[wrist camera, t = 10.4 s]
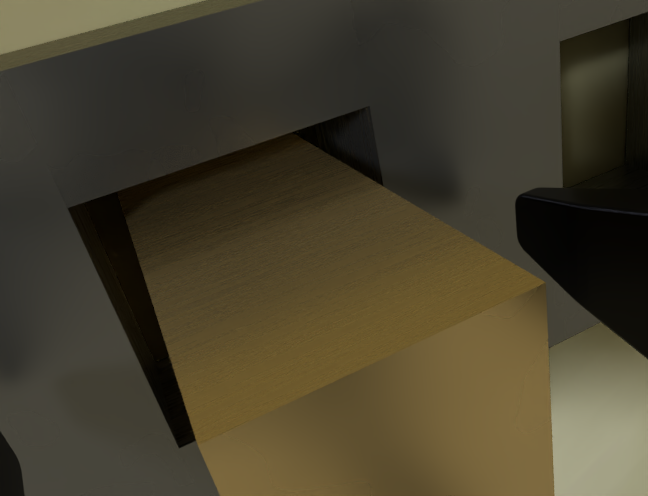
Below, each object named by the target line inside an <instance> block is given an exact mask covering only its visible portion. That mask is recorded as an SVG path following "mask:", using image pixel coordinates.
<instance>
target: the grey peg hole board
mask: <svg viewBox="0 0 648 496" xmlns="http://www.w3.org/2000/svg"><path fill="white" fill-rule="evenodd" d="M628 18H630V41H629V71H628V100H627V130H626V160H625V165H623V166H621V167H618V168H616V169H613V170H611V171H609V172H606V173H604V174H602V175H599V176H597V177H594V178H592V179H590V180H587V181H585V182H583V183H580V184H578V185H575V186H573V187H571V188H617V189H648V0H206V1H202V2H199V3H195V4H191V5H187V6H183V7H180V8H176V9H172V10H168V11H165V12H161V13H157V14H153V15H149V16H146V17H142V18H138V19H134V20H131V21H127V22H123V23H119V24H115V25H112V26H108V27H104V28H100V29H97V30H93V31H89V32H85V33H81V34H78V35H74V36H70V37H66V38H62V39H59V40H55V41H51V42H47V43H44V44H40V45H36V46H32V47H28V48H25V49H21V50H17V51H13V52H10V53H6V54H2V55H0V431H1V433H2V434H3V436H4V437H5V439H6V440H7V442H8V443H9V445H10V447H11V448H12V450H13V451H14V453H15V454H16V456H17V458H18V460H19V463H20V466H21V470H22V478H23V486H24V494H25V496H220V494H219V492H218V490H217V488H216V485H215V483H214V481H213V479H212V476H211V474H210V472H209V470H208V467H207V465H206V463H205V461H204V458H203V456H202V454H201V452H200V449H199V447H198V445H197V441H196V438H195V435H194V432H193V429H192V426H191V423H190V419H189V416H188V413H187V410H186V407H185V404H184V401H183V398H182V394H181V391H180V388H179V385H178V382H177V379H176V376H175V372H174V369H173V366H172V363H171V360H170V357H167V358H165V359H162V360H160V361H158V362H155V361H154V359H153V356H152V354H151V352H150V350H149V348H148V345H147V343H146V341H145V339H144V336H143V334H142V332H141V330H140V327H139V325H138V323H137V321H136V318H135V316H134V314H133V312H132V310H131V307H130V305H129V303H128V301H127V298H126V296H125V294H124V292H123V289H122V287H121V285H120V283H119V281H118V278H117V276H116V274H115V272H114V269H113V267H112V265H111V263H110V260H109V258H108V256H107V254H106V251H105V249H104V247H103V245H102V243H101V240H100V238H99V236H98V234H97V231H96V229H95V227H94V225H93V222H92V220H91V218H90V216H89V214H88V211H87V209H86V207H85V205H84V202H87V201H90V200H93V199H96V198H99V197H102V196H105V195H108V194H111V193H114V192H117V191H119V190H122V189H125V188H128V187H131V186H134V185H137V184H140V183H143V182H146V181H149V180H152V179H155V178H158V177H161V176H164V175H167V174H170V173H173V172H176V171H179V170H182V169H184V168H187V167H190V166H193V165H196V164H199V163H202V162H205V161H208V160H211V159H214V158H217V157H220V156H223V155H226V154H229V153H232V152H235V151H238V150H241V149H244V148H247V147H249V146H252V145H255V144H258V143H261V142H264V141H267V140H270V139H273V138H276V137H279V136H282V135H285V134H288V133H291V132H294V131H297V130H300V129H303V128H306V127H309V126H312V125H314V126H315V131H316V135H317V139H318V144H319V148H320V150H322V151H324V152H325V153H327V154H329V155H331V156H332V157H334V158H336V159H337V160H339V161H341V162H342V163H344V164H346V165H347V166H349V167H351V168H353V169H354V170H356V171H358V172H359V173H361V174H363V175H364V176H366V177H368V178H370V179H371V180H373V181H375V182H376V183H378V184H380V185H381V186H383V187H385V188H386V189H388V190H390V191H392V192H393V193H395V194H397V195H398V196H400V197H402V198H403V199H405V200H407V201H409V202H410V203H412V204H414V205H415V206H417V207H419V208H420V209H422V210H424V211H425V212H427V213H429V214H431V215H432V216H434V217H436V218H437V219H439V220H441V221H442V222H444V223H446V224H448V225H449V226H451V227H453V228H454V229H456V230H458V231H459V232H461V233H463V234H464V235H466V236H468V237H470V238H471V239H473V240H475V241H476V242H478V243H480V244H481V245H483V246H485V247H487V248H488V249H490V250H492V251H493V252H495V253H497V254H498V255H500V256H502V257H503V258H505V259H507V260H509V261H510V262H512V263H514V264H515V265H517V266H519V267H520V268H522V269H524V270H526V271H527V272H529V273H531V274H532V275H534V276H536V277H537V278H539V279H541V280H542V281H544V282H546V299H547V324H548V348H550V347H552V346H554V345H556V344H558V343H560V342H562V341H564V340H566V339H568V338H570V337H572V336H574V335H576V334H578V333H580V332H582V331H584V330H586V329H588V328H590V327H592V326H594V325H596V324H598V323H600V322H601V321H599V320H598V319H597V318H596V317H594V316H593V315H592V314H591V313H589V312H588V311H587V310H586V309H584V308H583V307H582V306H581V305H580V304H579V303H577V302H576V301H575V300H574V299H573V298H572V297H571V296H570V295H569V294H568V293H567V292H566V291H565V290H564V289H563V288H562V287H561V286H560V285H559V284H558V283H557V282H556V281H555V280H553V279H552V278H551V277H550V276H549V275H548V274H547V273H546V272H545V271H544V270H543V269H542V268H541V267H540V266H539V265H538V264H537V263H536V262H535V261H534V260H533V259H532V258H531V257H530V256H529V255H528V254H527V253H526V252H525V251H524V250H523V249H522V247H521V246H520V244H519V242H518V239H517V230H516V214H515V201H516V198H517V197H518V196H519V195H520V194H522V193H524V192H527V191H529V190H532V189H534V188H538V187H549V188H563V175H562V126H561V78H560V41H563V40H566V39H569V38H572V37H574V36H577V35H580V34H583V33H586V32H589V31H592V30H595V29H598V28H601V27H604V26H607V25H610V24H613V23H616V22H619V21H622V20H625V19H628Z"/></svg>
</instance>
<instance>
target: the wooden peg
mask: <svg viewBox="0 0 648 496" xmlns="http://www.w3.org/2000/svg"><path fill="white" fill-rule="evenodd" d="M117 194H118V197H119V200H120V203H121V206H122V209H123V213H124V216H125V219H126V222H127V225H128V228H129V231H130V235H131V238H132V241H133V244H134V247H135V250H136V253H137V256H138V260H139V263H140V266H141V269H142V272H143V275H144V278H145V282H146V285H147V288H148V291H149V294H150V297H151V300H152V303H153V307H154V310H155V313H156V316H157V319H158V322H159V325H160V329H161V332H162V335H163V338H164V341H165V344H166V347H167V350H168V354H169V357H170V360H171V363H172V366H173V369H174V372H175V376H176V379H177V382H178V385H179V388H180V391H181V394H182V398H183V401H184V404H185V407H186V410H187V413H188V416H189V419H190V423H191V426H192V429H193V432H194V435H195V438H196V441H197V445H198V447H199V449H200V452H201V454H202V456H203V458H204V461H205V463H206V465H207V467H208V470H209V472H210V474H211V476H212V479H213V481H214V483H215V485H216V488H217V490H218V492H219V494H220V496H554V474H553V449H552V424H551V399H550V374H549V349H548V324H547V299H546V282H544V281H542V280H541V279H539V278H537V277H536V276H534V275H532V274H531V273H529V272H527V271H526V270H524V269H522V268H520V267H519V266H517V265H515V264H514V263H512V262H510V261H509V260H507V259H505V258H503V257H502V256H500V255H498V254H497V253H495V252H493V251H492V250H490V249H488V248H487V247H485V246H483V245H481V244H480V243H478V242H476V241H475V240H473V239H471V238H470V237H468V236H466V235H464V234H463V233H461V232H459V231H458V230H456V229H454V228H453V227H451V226H449V225H448V224H446V223H444V222H442V221H441V220H439V219H437V218H436V217H434V216H432V215H431V214H429V213H427V212H425V211H424V210H422V209H420V208H419V207H417V206H415V205H414V204H412V203H410V202H409V201H407V200H405V199H403V198H402V197H400V196H398V195H397V194H395V193H393V192H392V191H390V190H388V189H386V188H385V187H383V186H381V185H380V184H378V183H376V182H375V181H373V180H371V179H370V178H368V177H366V176H364V175H363V174H361V173H359V172H358V171H356V170H354V169H353V168H351V167H349V166H347V165H346V164H344V163H342V162H341V161H339V160H337V159H336V158H334V157H332V156H331V155H329V154H327V153H325V152H324V151H322V150H320V149H319V148H317V147H315V146H314V145H312V144H310V143H308V142H307V141H305V140H303V139H302V138H300V137H298V136H297V135H295V134H293V133H292V132H291V133H288V134H285V135H282V136H279V137H276V138H273V139H270V140H267V141H264V142H261V143H258V144H255V145H252V146H249V147H247V148H244V149H241V150H238V151H235V152H232V153H229V154H226V155H223V156H220V157H217V158H214V159H211V160H208V161H205V162H202V163H199V164H196V165H193V166H190V167H187V168H184V169H182V170H179V171H176V172H173V173H170V174H167V175H164V176H161V177H158V178H155V179H152V180H149V181H146V182H143V183H140V184H137V185H134V186H131V187H128V188H125V189H122V190H119V191H117Z"/></svg>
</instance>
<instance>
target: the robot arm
mask: <svg viewBox="0 0 648 496" xmlns="http://www.w3.org/2000/svg"><path fill="white" fill-rule="evenodd" d="M515 214H516V230H517V239H518V242H519V244H520V246H521V247H522V249H523V250H524V251H525V252H526V253H527V254H528V255H529V256H530V257H531V258H532V259H533V260H534V261H535V262H536V263H537V264H538V265H539V266H540V267H541V268H542V269H543V270H544V271H545V272H546V273H547V274H548V275H549V276H550V277H551V278H552V279H553V280H555V281H556V282H557V283H558V284H559V285H560V286H561V287H562V288H563V289H564V290H565V291H566V292H567V293H568V294H569V295H570V296H571V297H572V298H573V299H574V300H575V301H576V302H577V303H579V304H580V305H581V306H582V307H583V308H584V309H586V310H587V311H588V312H589V313H591V314H592V315H593V316H594V317H596V318H597V319H598V320H599V321H601V322H602V323H603V324H604V325H606V326H607V327H608V328H609V329H611V330H612V331H613V332H614V333H616V334H617V335H618V336H619V337H621V338H622V339H623V340H624V341H626V342H627V343H628V344H629V345H631V346H632V347H633V348H634V349H636V350H637V351H638V352H639V353H641V354H642V355H643V356H644V357H646V358H647V359H648V189H617V188H549V187H538V188H534V189H532V190H529V191H527V192H524V193H522V194H520V195H519V196H518V197H517V198H516V201H515ZM0 496H25V494H24V486H23V478H22V470H21V466H20V463H19V460H18V458H17V456H16V454H15V453H14V451H13V450H12V448H11V447H10V445H9V443H8V442H7V440H6V439H5V437H4V436H3V434H2V433H1V431H0Z"/></svg>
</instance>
